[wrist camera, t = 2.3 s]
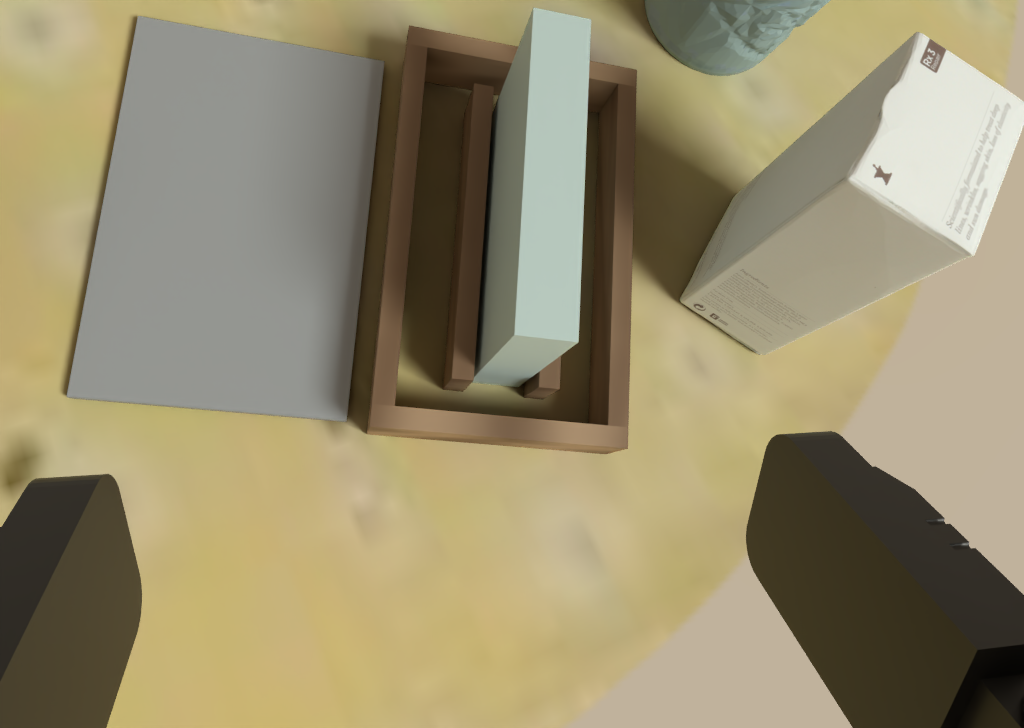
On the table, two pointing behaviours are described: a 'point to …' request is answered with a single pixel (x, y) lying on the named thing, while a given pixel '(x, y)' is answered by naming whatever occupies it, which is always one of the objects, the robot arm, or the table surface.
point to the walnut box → (612, 280)
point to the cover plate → (535, 204)
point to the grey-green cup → (726, 30)
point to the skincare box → (861, 200)
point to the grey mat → (231, 227)
